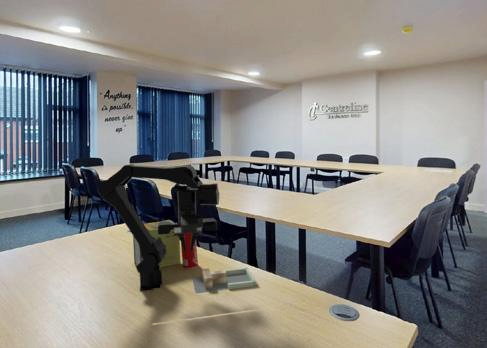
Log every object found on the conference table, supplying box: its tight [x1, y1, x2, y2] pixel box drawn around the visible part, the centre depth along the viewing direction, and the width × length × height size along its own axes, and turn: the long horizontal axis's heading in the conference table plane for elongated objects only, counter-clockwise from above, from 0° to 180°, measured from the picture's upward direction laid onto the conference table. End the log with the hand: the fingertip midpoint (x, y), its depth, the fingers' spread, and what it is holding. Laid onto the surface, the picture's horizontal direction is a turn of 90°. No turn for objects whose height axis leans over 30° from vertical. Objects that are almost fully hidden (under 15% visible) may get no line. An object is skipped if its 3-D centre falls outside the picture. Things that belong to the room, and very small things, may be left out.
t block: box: [201, 268, 226, 289], centre depth 112 cm, size 7×8×4 cm
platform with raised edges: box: [192, 267, 258, 294], centre depth 113 cm, size 20×12×2 cm, turn 104°
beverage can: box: [180, 233, 199, 270], centre depth 126 cm, size 6×6×15 cm
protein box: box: [132, 219, 181, 269], centre depth 129 cm, size 10×15×16 cm
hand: (188, 251), depth 109 cm, fingers closed
